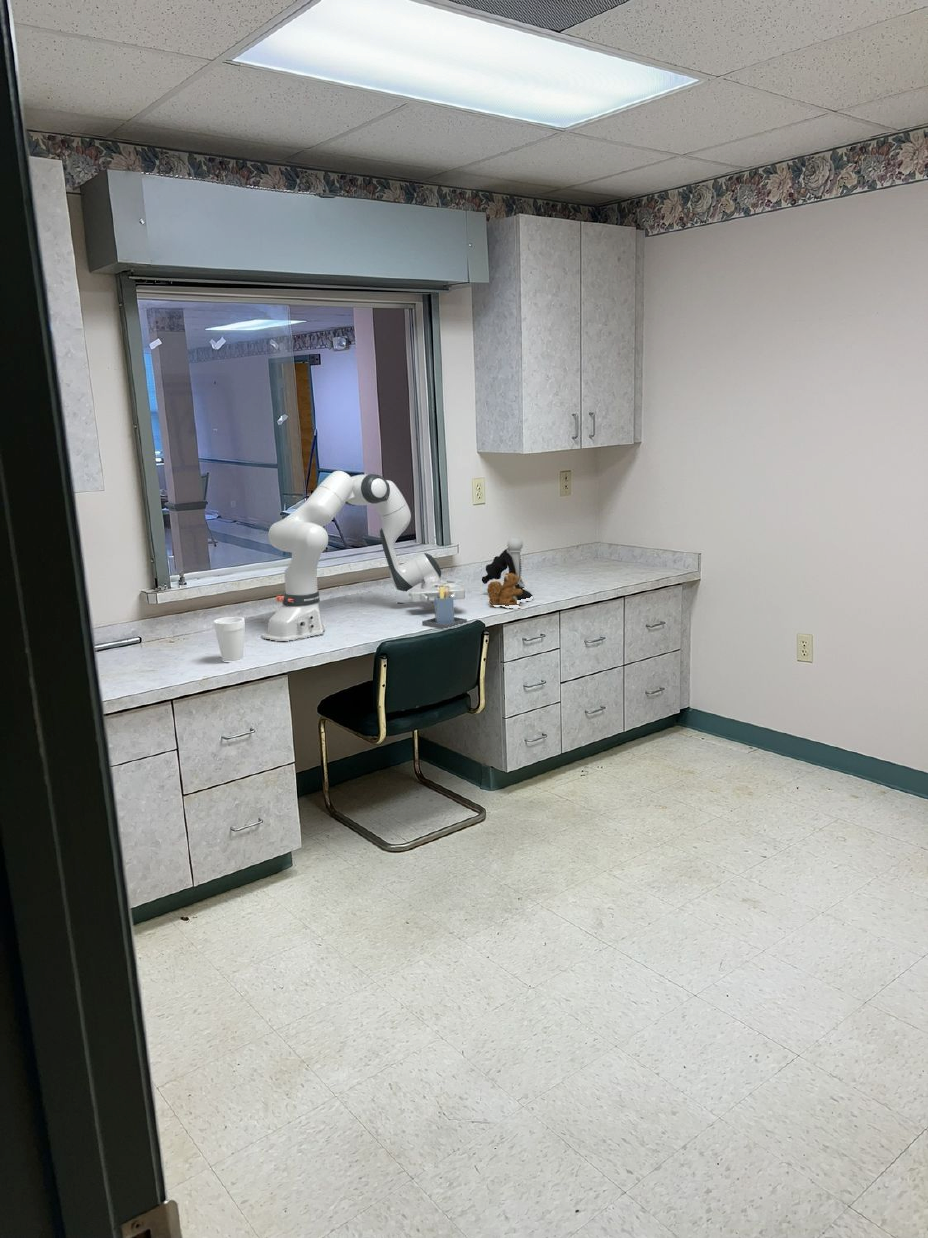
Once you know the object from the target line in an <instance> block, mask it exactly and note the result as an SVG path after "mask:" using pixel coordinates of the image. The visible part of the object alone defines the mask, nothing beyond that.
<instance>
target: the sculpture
mask: <svg viewBox="0 0 928 1238" xmlns="http://www.w3.org/2000/svg"><path fill="white" fill-rule="evenodd" d="M506 545H507V546H506V548H505V549H504V550H503V551H502V552H501V553H500V554H499V555H497V556H496V555H495V557H494V558H493V560H492V562H491V563H490V564H486V565H485V571H486V573H487V574H486V575H485V576H484V575H483V576H481V577H482V578H481V582H482V583H483V584H484V585H487V584H488V583H489V582H490V581H492V580H500V579H501V578H502V573H503V572H504V571H505V570H507V569H508V573H513V574H515V575H517V576H518V577H519V584H517V585H515V588H517V589H521V590H522V591H523V593H522V594H521V595H516V597H517V600H521V599H526V598H530V597H531V596H534V595H533V594H532V593H531V592H530V591H528V590H527V589H524V588H525V586H526V584H525V582H524V581H523V578H522V569H523V568H522V567H523V565H522V564H523V563H522V557H521V552H522V549H523V546H524V543H523V540H522V539H520V538H519V537H512V538H510V539H508V541H507V543H506Z"/></svg>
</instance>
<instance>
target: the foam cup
mask: <svg viewBox="0 0 928 1238" xmlns="http://www.w3.org/2000/svg"><path fill="white" fill-rule="evenodd" d="M245 628H246V620H245V618H244V617H241V616H228V617H227V616H226V617H220V618H217V619H215V620H213V629H214V630H215V635H216V638H217V643H218V649H219V652H220V655H221V657H220V658H221V660H222V661H223V660H224V661H237V660H240V659H242V658H243V659H244V647H245V645H244V643H245Z"/></svg>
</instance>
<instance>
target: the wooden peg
mask: <svg viewBox="0 0 928 1238" xmlns="http://www.w3.org/2000/svg"><path fill="white" fill-rule="evenodd" d="M445 598H449V586H445Z"/></svg>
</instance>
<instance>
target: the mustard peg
mask: <svg viewBox="0 0 928 1238" xmlns="http://www.w3.org/2000/svg"><path fill="white" fill-rule="evenodd" d="M439 588H440V598H444V587H439Z"/></svg>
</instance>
